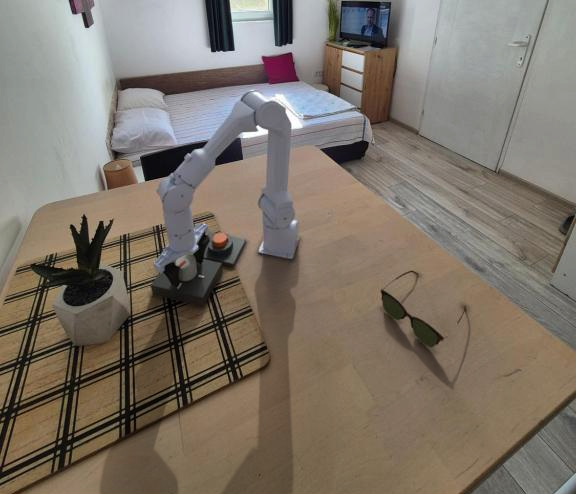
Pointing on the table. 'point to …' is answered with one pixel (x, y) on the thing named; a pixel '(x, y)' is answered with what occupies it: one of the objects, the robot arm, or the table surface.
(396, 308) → the sunglasses
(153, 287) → the dial panel
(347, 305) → the table surface
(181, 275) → the timer dial
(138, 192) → the table surface
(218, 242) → the button
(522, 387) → the table surface
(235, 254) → the button block
